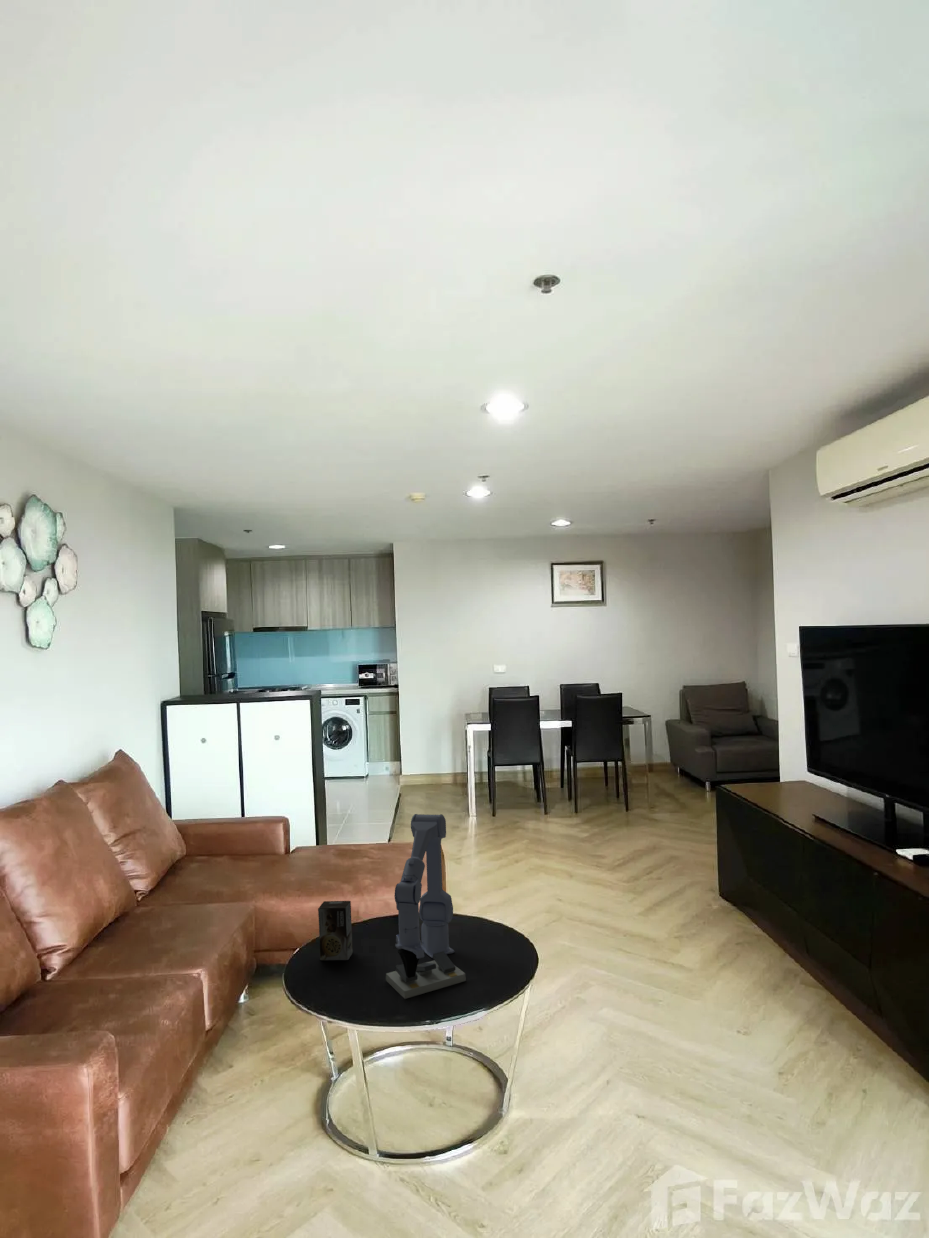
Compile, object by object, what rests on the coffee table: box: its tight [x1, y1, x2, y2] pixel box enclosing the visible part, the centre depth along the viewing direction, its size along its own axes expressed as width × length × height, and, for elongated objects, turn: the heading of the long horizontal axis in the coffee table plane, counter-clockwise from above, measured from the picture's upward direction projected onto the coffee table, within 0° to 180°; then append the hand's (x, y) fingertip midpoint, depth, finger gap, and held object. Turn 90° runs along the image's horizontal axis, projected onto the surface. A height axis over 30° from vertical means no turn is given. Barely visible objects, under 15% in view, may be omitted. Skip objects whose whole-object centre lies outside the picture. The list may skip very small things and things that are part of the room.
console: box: [385, 959, 467, 1000], centre depth 202 cm, size 13×19×3 cm
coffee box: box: [317, 900, 354, 961], centre depth 222 cm, size 9×6×16 cm
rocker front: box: [394, 963, 418, 983], centre depth 200 cm, size 8×4×1 cm, turn 29°
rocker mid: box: [416, 962, 436, 971], centre depth 203 cm, size 8×4×1 cm, turn 29°
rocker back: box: [432, 951, 456, 974], centre depth 205 cm, size 8×4×1 cm, turn 29°
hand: (410, 976), depth 197 cm, fingers closed, pressing on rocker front
